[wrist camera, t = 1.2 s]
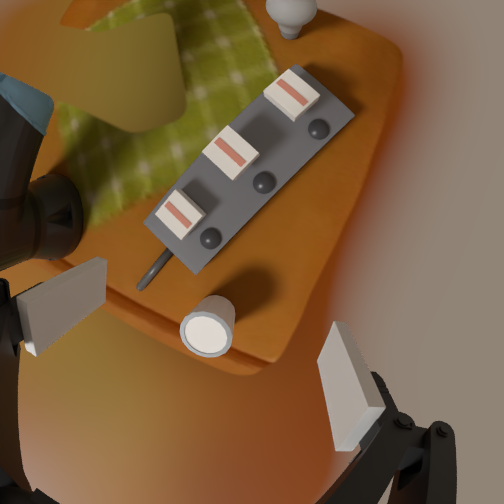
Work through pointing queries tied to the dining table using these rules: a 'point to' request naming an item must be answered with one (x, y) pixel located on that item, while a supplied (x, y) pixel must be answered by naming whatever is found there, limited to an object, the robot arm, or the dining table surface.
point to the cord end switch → (180, 214)
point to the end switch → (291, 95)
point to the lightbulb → (291, 15)
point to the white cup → (209, 327)
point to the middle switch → (231, 153)
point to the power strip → (247, 174)
